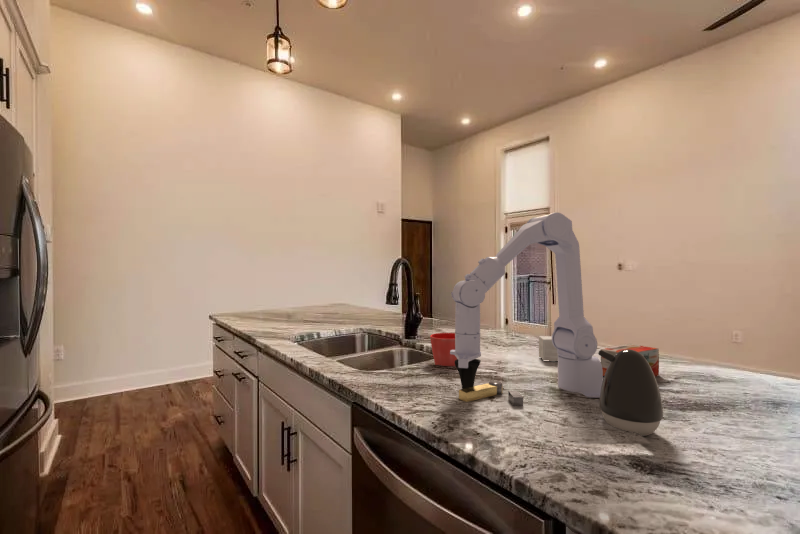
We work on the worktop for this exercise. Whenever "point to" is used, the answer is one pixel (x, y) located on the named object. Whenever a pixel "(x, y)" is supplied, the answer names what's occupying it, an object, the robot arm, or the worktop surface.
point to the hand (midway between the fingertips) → (467, 391)
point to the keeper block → (515, 398)
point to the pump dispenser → (630, 393)
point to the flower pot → (443, 348)
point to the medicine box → (647, 352)
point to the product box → (547, 349)
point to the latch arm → (481, 391)
